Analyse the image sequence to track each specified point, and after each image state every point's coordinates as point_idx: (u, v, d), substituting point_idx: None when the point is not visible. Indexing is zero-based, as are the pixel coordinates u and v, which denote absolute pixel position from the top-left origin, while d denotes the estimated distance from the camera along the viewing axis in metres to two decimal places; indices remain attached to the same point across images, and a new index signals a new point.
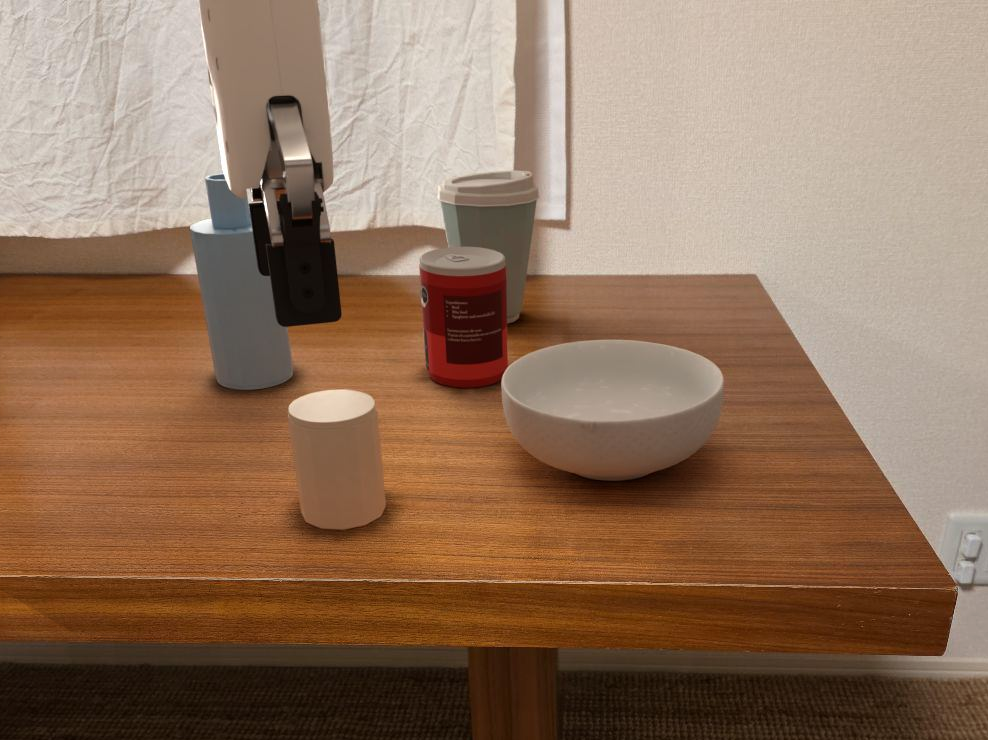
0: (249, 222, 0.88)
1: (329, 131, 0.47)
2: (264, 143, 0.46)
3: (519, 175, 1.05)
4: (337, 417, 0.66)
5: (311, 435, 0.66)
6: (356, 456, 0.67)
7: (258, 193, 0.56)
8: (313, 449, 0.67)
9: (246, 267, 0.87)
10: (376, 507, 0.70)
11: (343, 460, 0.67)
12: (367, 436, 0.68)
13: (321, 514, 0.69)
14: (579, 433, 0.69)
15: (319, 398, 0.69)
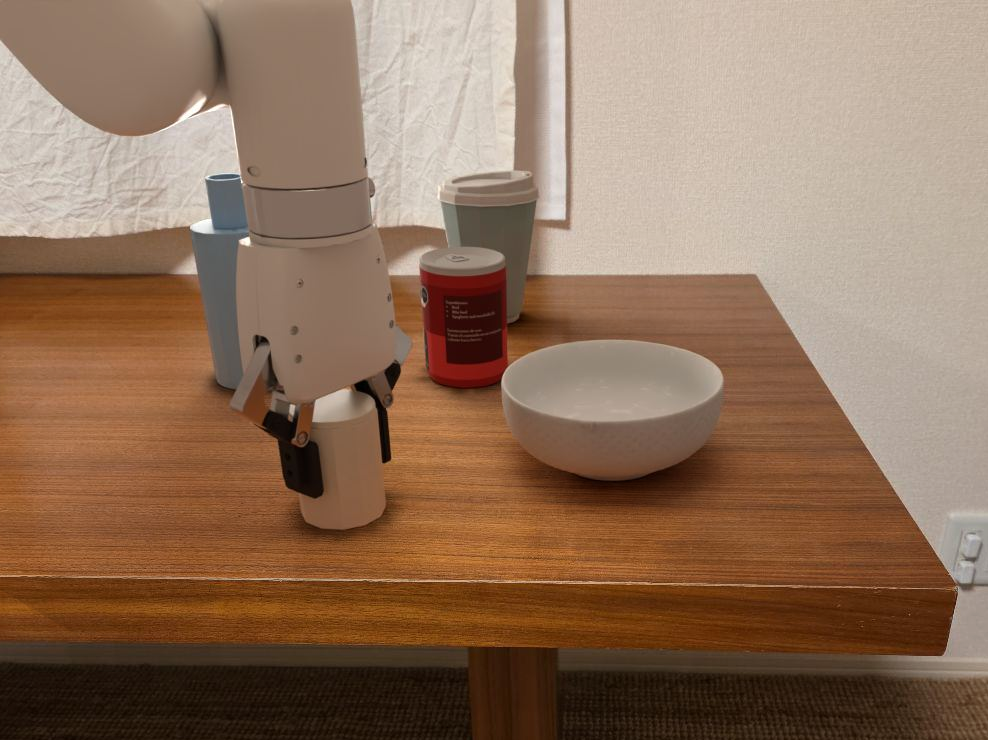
0: None
1: (291, 366, 0.61)
2: None
3: (519, 175, 1.05)
4: (337, 417, 0.66)
5: (311, 435, 0.66)
6: (356, 456, 0.67)
7: None
8: None
9: None
10: (376, 507, 0.70)
11: (343, 460, 0.67)
12: (367, 435, 0.67)
13: (321, 514, 0.69)
14: (579, 433, 0.69)
15: (319, 398, 0.69)
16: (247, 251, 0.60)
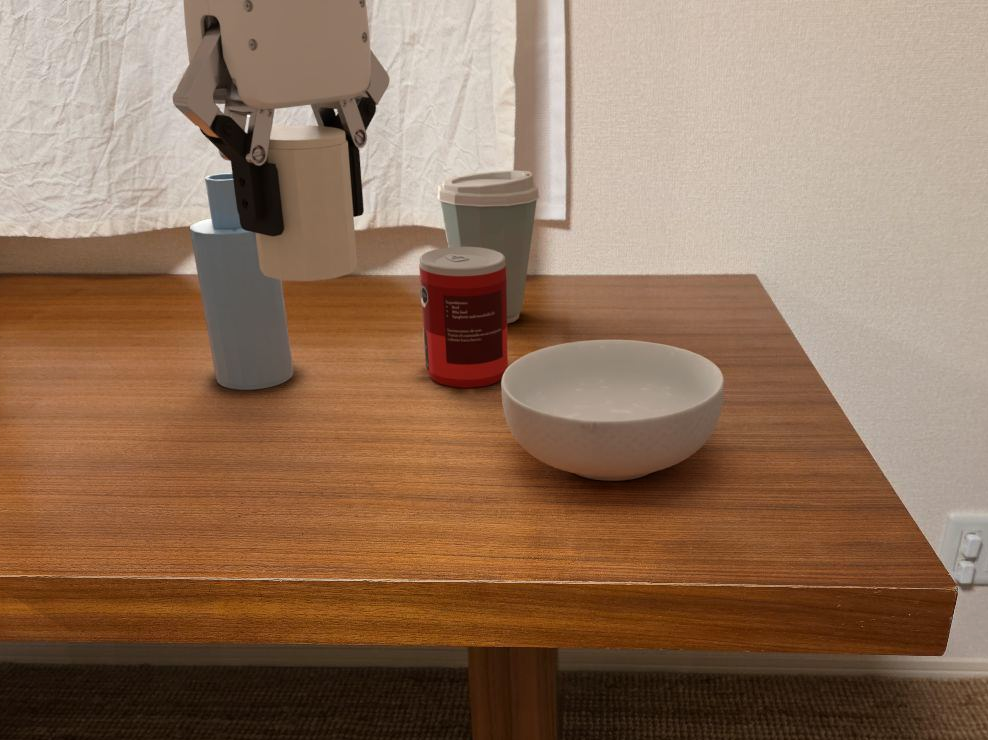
0: None
1: (244, 52, 0.53)
2: None
3: (519, 175, 1.05)
4: (300, 138, 0.58)
5: (270, 157, 0.57)
6: (322, 188, 0.59)
7: None
8: None
9: (246, 267, 0.87)
10: (345, 260, 0.62)
11: (307, 191, 0.58)
12: (335, 166, 0.59)
13: (282, 261, 0.60)
14: (579, 433, 0.69)
15: (281, 129, 0.60)
16: None
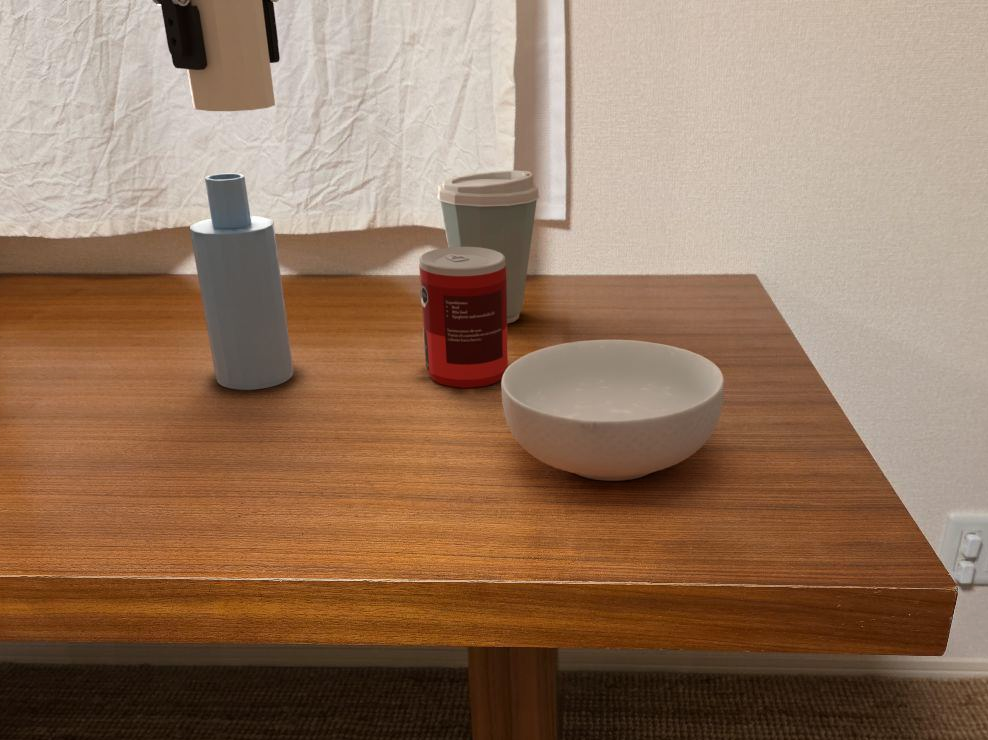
0: (249, 222, 0.88)
1: None
2: None
3: (519, 175, 1.05)
4: None
5: (193, 1, 0.70)
6: (238, 29, 0.71)
7: None
8: None
9: (246, 267, 0.87)
10: (262, 95, 0.74)
11: (225, 31, 0.71)
12: (249, 10, 0.71)
13: (207, 94, 0.73)
14: (579, 433, 0.69)
15: None
16: None
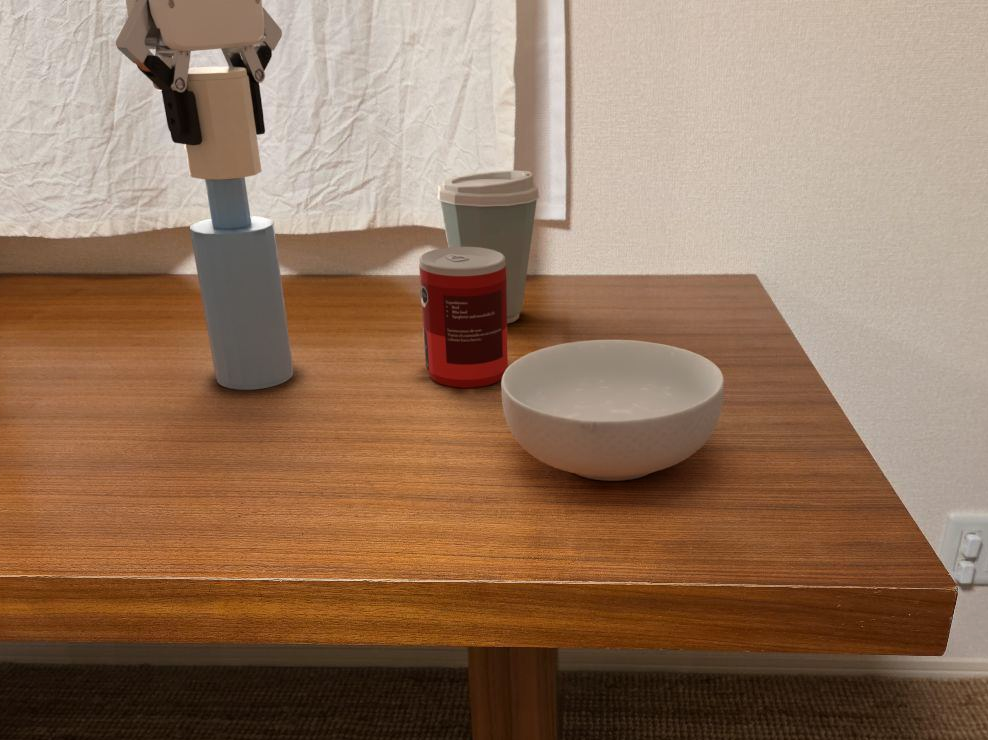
0: (249, 222, 0.88)
1: (165, 9, 0.75)
2: None
3: (519, 175, 1.05)
4: (211, 72, 0.80)
5: (189, 87, 0.80)
6: (229, 109, 0.81)
7: None
8: None
9: (246, 267, 0.87)
10: (250, 164, 0.84)
11: (217, 111, 0.81)
12: (238, 93, 0.81)
13: (202, 165, 0.83)
14: (579, 433, 0.69)
15: (200, 68, 0.83)
16: None
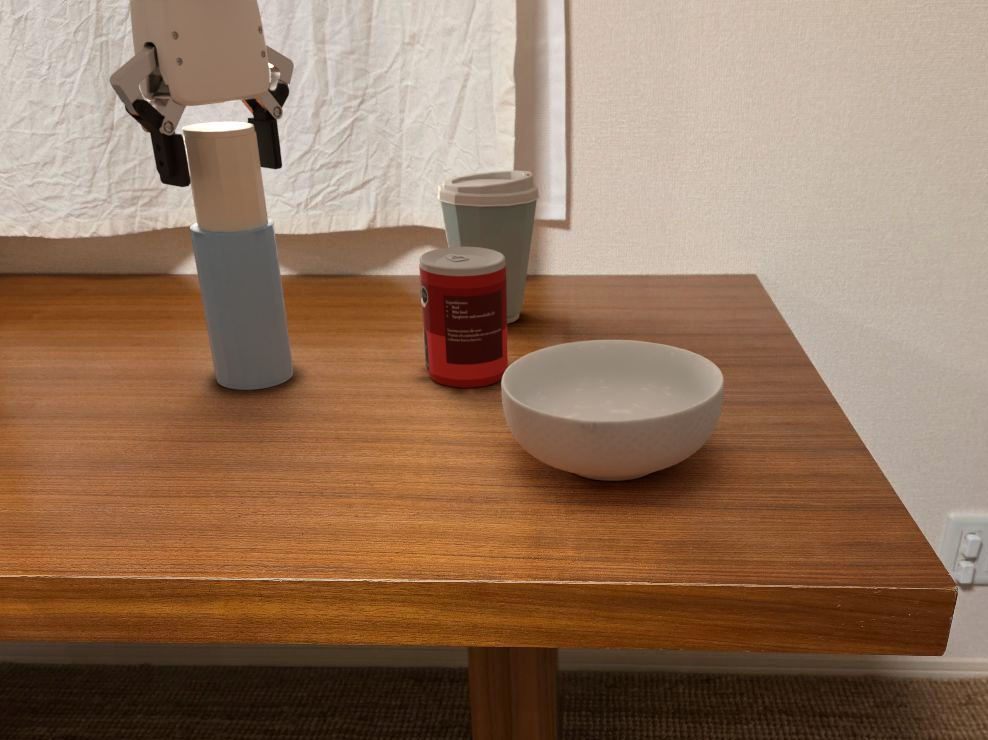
0: None
1: (173, 66, 0.77)
2: None
3: (519, 175, 1.05)
4: (220, 130, 0.82)
5: (199, 144, 0.82)
6: (237, 165, 0.83)
7: (252, 111, 0.88)
8: (201, 157, 0.83)
9: (246, 267, 0.87)
10: (257, 217, 0.86)
11: (226, 167, 0.83)
12: (246, 149, 0.84)
13: (211, 218, 0.85)
14: (579, 433, 0.69)
15: (209, 124, 0.85)
16: None
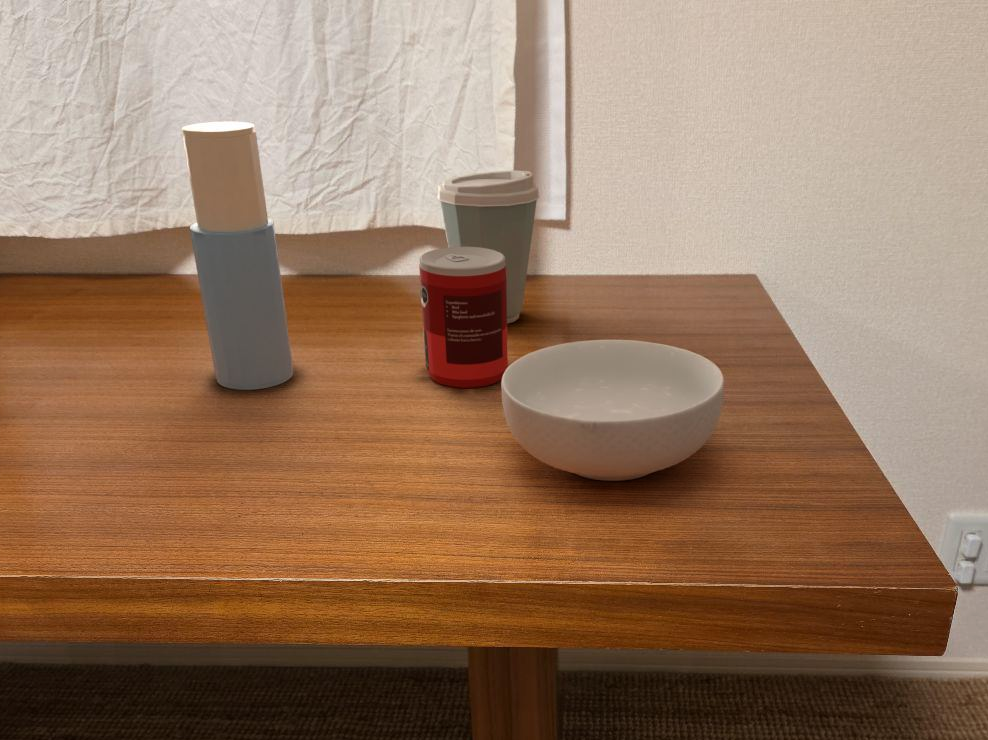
0: None
1: None
2: None
3: (519, 175, 1.05)
4: (220, 130, 0.82)
5: (199, 144, 0.82)
6: (237, 165, 0.83)
7: None
8: (201, 157, 0.83)
9: (246, 267, 0.87)
10: (257, 217, 0.86)
11: (226, 167, 0.83)
12: (246, 149, 0.84)
13: (211, 218, 0.85)
14: (579, 433, 0.69)
15: (209, 124, 0.85)
16: None
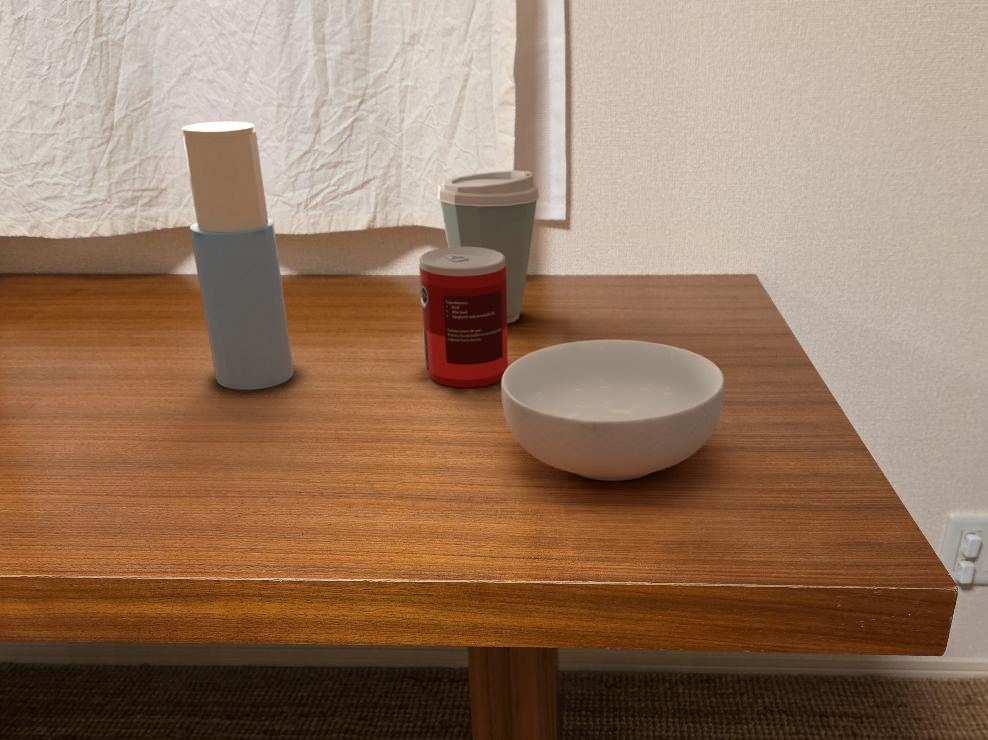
0: None
1: None
2: None
3: (519, 175, 1.05)
4: (220, 130, 0.82)
5: (199, 144, 0.82)
6: (237, 165, 0.83)
7: None
8: (201, 157, 0.83)
9: (246, 267, 0.87)
10: (257, 217, 0.86)
11: (226, 167, 0.83)
12: (246, 149, 0.84)
13: (211, 218, 0.85)
14: (579, 433, 0.69)
15: (209, 124, 0.85)
16: None
